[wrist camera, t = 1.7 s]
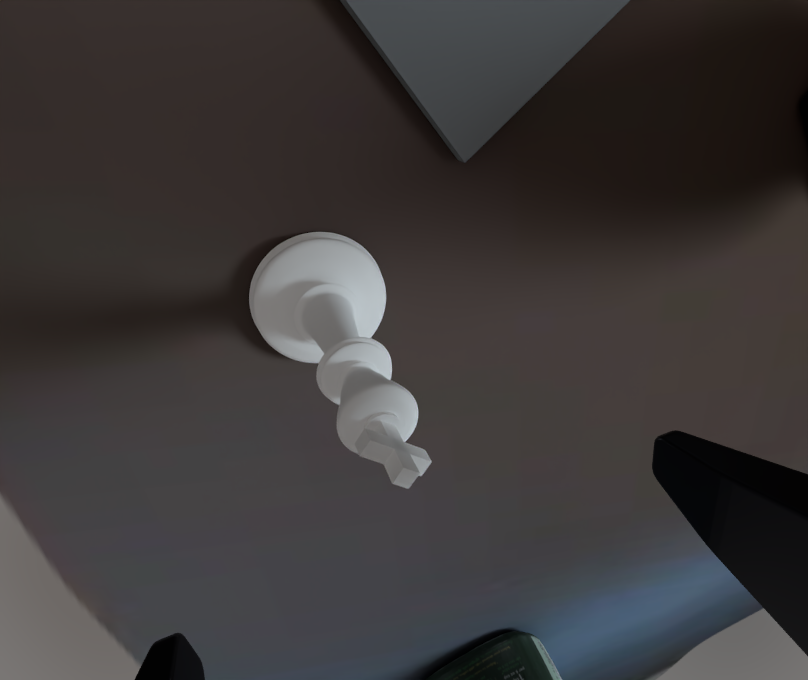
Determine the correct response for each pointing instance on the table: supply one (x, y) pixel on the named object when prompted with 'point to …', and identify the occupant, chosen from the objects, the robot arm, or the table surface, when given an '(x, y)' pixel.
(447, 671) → the coffee jar
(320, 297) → the chess piece
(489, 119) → the slate mat
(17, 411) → the table surface
